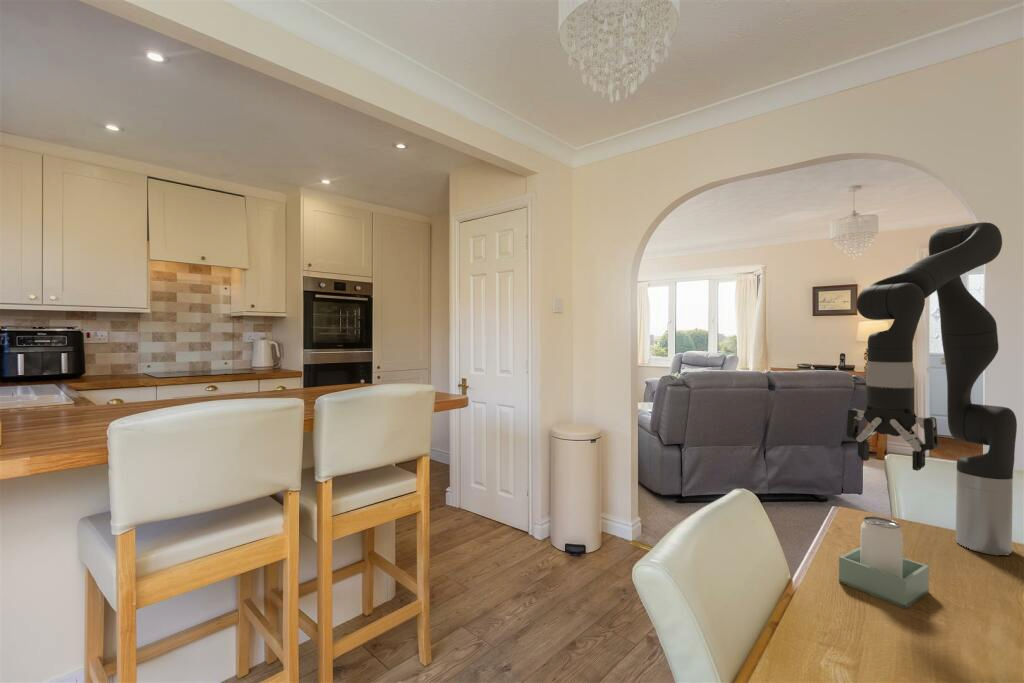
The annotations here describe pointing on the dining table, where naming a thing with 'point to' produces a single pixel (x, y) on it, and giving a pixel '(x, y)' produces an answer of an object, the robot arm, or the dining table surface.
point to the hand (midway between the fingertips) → (889, 464)
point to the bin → (885, 579)
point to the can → (882, 545)
